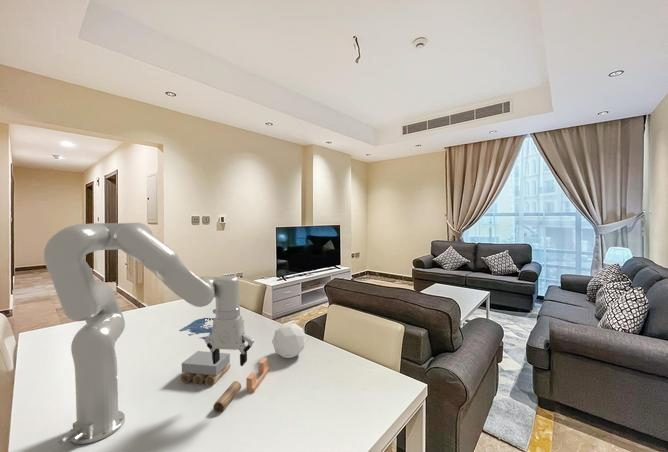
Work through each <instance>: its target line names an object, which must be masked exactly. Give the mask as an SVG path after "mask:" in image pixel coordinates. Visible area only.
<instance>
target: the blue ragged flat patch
mask: <svg viewBox="0 0 668 452" xmlns="http://www.w3.org/2000/svg"><path fill="white" fill-rule="evenodd" d="M214 318H215V317H211V318H210V317H203V318H198V319H195V320H194V321H192V322H190V324H188V325H186V326H184V327H182V328H180V329H179V330H178V331H179V332H187V331H188V332H189V334H187V335H188V336H189V337H191V336H193V335H200V334H208V335H207V336H209V335H211V334H212V324H207V323H209V322H208V321H211V319H212V320H214ZM205 319H207V320H206V321H205ZM208 319H209V320H208ZM206 322H207V323H206ZM205 323H206V324H207V325H206V324H205ZM207 336H202V337H200V339H205V338H206V337H207ZM211 341H212V339H211Z"/></svg>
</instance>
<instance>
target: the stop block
mask: <svg viewBox="0 0 668 452" xmlns="http://www.w3.org/2000/svg"><path fill="white" fill-rule="evenodd" d="M269 372H270V366H268V357H262V358H261V360H259V362H258V376H259V378H258V379H257V372H254V371H251V372H250V373H249V374H248V376H247V377H246V382H245V383H246V387H245V388H246V389H245V390H246V391H245V392H246V393H251V394H252V393H253V394H255V392H256V390H257V389H258V387H259V386H260V384H261V383H262V382H263V380H264V379H265V378H266V376H267V374H269Z"/></svg>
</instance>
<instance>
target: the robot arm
mask: <svg viewBox="0 0 668 452" xmlns="http://www.w3.org/2000/svg"><path fill="white" fill-rule="evenodd" d="M43 249H44V251H43V260H44V265H45V267H46V268H47V272H48V274H49V276H50V279H51V281H52V283H53V287H54V289H55V292H56V295H57V298H58V300H59V303H60V306H61V308H62V311H63V312H64V315H65V316H66V318H68V319H69V320H71V321H73V322H83V321H84V322H85V324H84V325H83V326H82V327H81V328H80V329H79V330H78V331H77V332H76V333H75V335H74V337H73V338H72V342H71V346H70V352H71V356H72V360H73V365H74V376H75V377H74V379H75V382H74V383H75V408H76V409H75V410H76V411H75V412H76V415H75V416H76V421H75V422H73V423H72V428H71V429H70V430H69V431H68V432H67V433H66V434H65V435H63V436H62V437H59V438H58V440H57V443H58V445H59V446H61V447H62V446H64V445H66V444H67V443H69V441H70V442H71V443H72V444H75V445H87V444H90V443H91V444H92V443H94V442H97V441H100V440H103V439H105V438H107V437H109V436H111V435H112V434H114V433H115V432H116V431H118V430H119V429H120V428H121V427H122V425H123V424H124V423H125V420H126V419H125V418H126V416H125V413H124V412H123V411H121V410H119V392H118V391H119V390H118V389H119V387H118V385H119V383H118V381H119V380H118V359H117V358H118V357H117V353H116V348H115V345H116V342H117V341H118V339H119V338H120V337H121V335H122V334H123V332H124V330H125V326H126V325H125V324H126V323H125V318H124V315H123V311H122V309H121V306H120V304H119V301H118V298H117V295H116V293H115V290H114V289H113V287H111V285H110V284H108V283H107V282H104V281H103V280H102V281H101V280H95V277H94V274H93V271H92V269H91V268H92V267H90V265H89V264H88V262H87V261H86V255H88V254H90V253H91V254H92V253H94V252H97V251H98V252H99V251H110V250H112V251H115V250H120V251H122V252H124V254H126V255H127V256H129V257H130V258H131V259H133V260H134V261H136V262H138V263H139V264H141V265H142V266H144V267H145V268H146V269H148V270H149V271H150V272H152V273H153V274H154V276H156V278H158V280H160V281H161V282H162V283H163V285H165V286H166V287H167V288H168V289H169V290H171V292H173V294H175V295H176V296H178V297H179V298H181V299H182V300H184V301H185V302H187V303H188V304H190V305H191V306H193V307H198V308H203V307H207V306H208V305H210V303H211V302H212V301H213V300H214V298H215V309H213V310H212V314H215V317H213V318H214V320H213V323H212V325H211V327H212V334H211V335H209V334H208V335H207V337H206V336H205V337H206V338H205V339H204V338H203V339H204V342H205V344H206V347H207V348H208V349H209V352H212V360H213V364H216V363H217V362H218V361H219V360H220V353H221V352H220V350H227V351H228V350H230V351H232V350H233V351H237V350H238V351H239V352H240V354H239V366H241V367H243V366H244V365H245V364H246V363H247V362H248V361H247V360H248V351H249V350H250V348H252V346H253V344H254V341H255V339H254V338H253V337H250V336H249V335H247V334H246V331H245V325H244V320H243V315H241V313H240V312H241V307H240V302H241V301H240V280H239V278H238V276H236V275H223V276H197V275H196V274H195V273H194V272H193V271H191V270H190V269H189V268H188V267H187V266H186V265H185V264H184V262H183V261H182V260H181V258H180V256H179V254H178V253H177V252H176V251H175V250H174V249H173V248H171V247H170V246H169V245H167V244H165V243H164V241H161V240H160V239H159V238H158V237H156V236H155V235H154V234H153V231H152V229H151V228H150V227H149V226H148V225H146V224H145V223H141V222H128V223H127V222H125V223H124V222H120V223H118V222H117V223H116V222H115V223H107V222H106V223H104V222H103V223H102V222H101V223H100V222H99V223H95V222H93V223H79V224H74V225H70V226H67V227H64V228H62V229H61V230H58V231H57V232H56V233H55V234H54V235H52V236H51V238H49V240H48V241H47V243H46V245H45V247H44V248H43ZM211 339H212V340H211ZM246 343H247V345H246Z"/></svg>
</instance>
